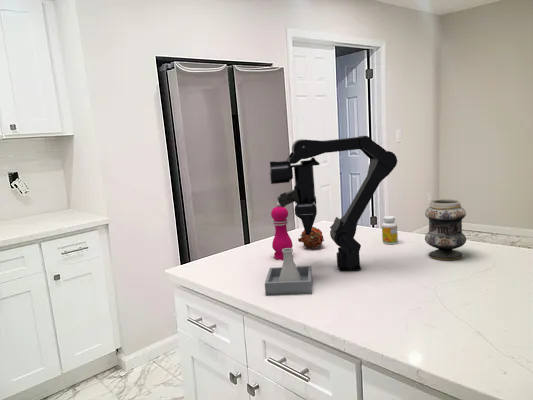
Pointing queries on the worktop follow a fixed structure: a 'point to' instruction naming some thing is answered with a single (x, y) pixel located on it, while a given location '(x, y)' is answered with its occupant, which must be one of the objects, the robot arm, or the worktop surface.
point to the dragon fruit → (312, 238)
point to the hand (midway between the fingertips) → (308, 231)
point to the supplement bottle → (389, 230)
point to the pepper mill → (280, 231)
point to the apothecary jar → (445, 228)
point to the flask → (289, 267)
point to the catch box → (289, 282)
